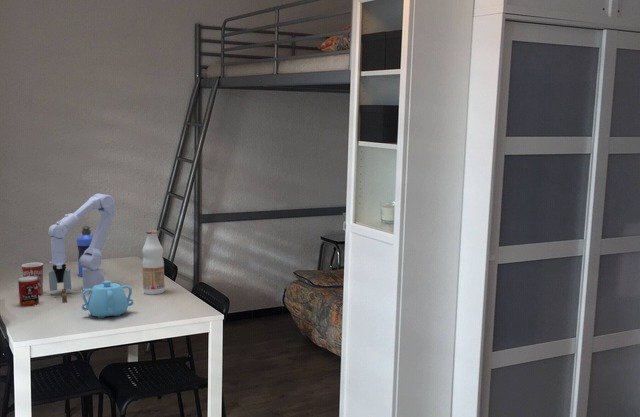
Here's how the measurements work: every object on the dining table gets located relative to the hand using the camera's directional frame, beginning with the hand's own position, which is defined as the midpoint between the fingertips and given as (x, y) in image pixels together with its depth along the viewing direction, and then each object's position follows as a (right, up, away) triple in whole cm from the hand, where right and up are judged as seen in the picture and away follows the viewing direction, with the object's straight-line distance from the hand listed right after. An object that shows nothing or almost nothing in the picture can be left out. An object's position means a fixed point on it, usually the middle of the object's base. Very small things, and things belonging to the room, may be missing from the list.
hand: (60, 281), depth 322 cm
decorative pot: (+31, -10, -32) cm, 46 cm away
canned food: (-7, -8, -16) cm, 19 cm away
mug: (-12, -6, +2) cm, 14 cm away
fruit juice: (+41, -5, +3) cm, 42 cm away
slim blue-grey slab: (0, -4, 0) cm, 3 cm away
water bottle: (0, -1, +38) cm, 38 cm away
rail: (+5, -7, -8) cm, 12 cm away
